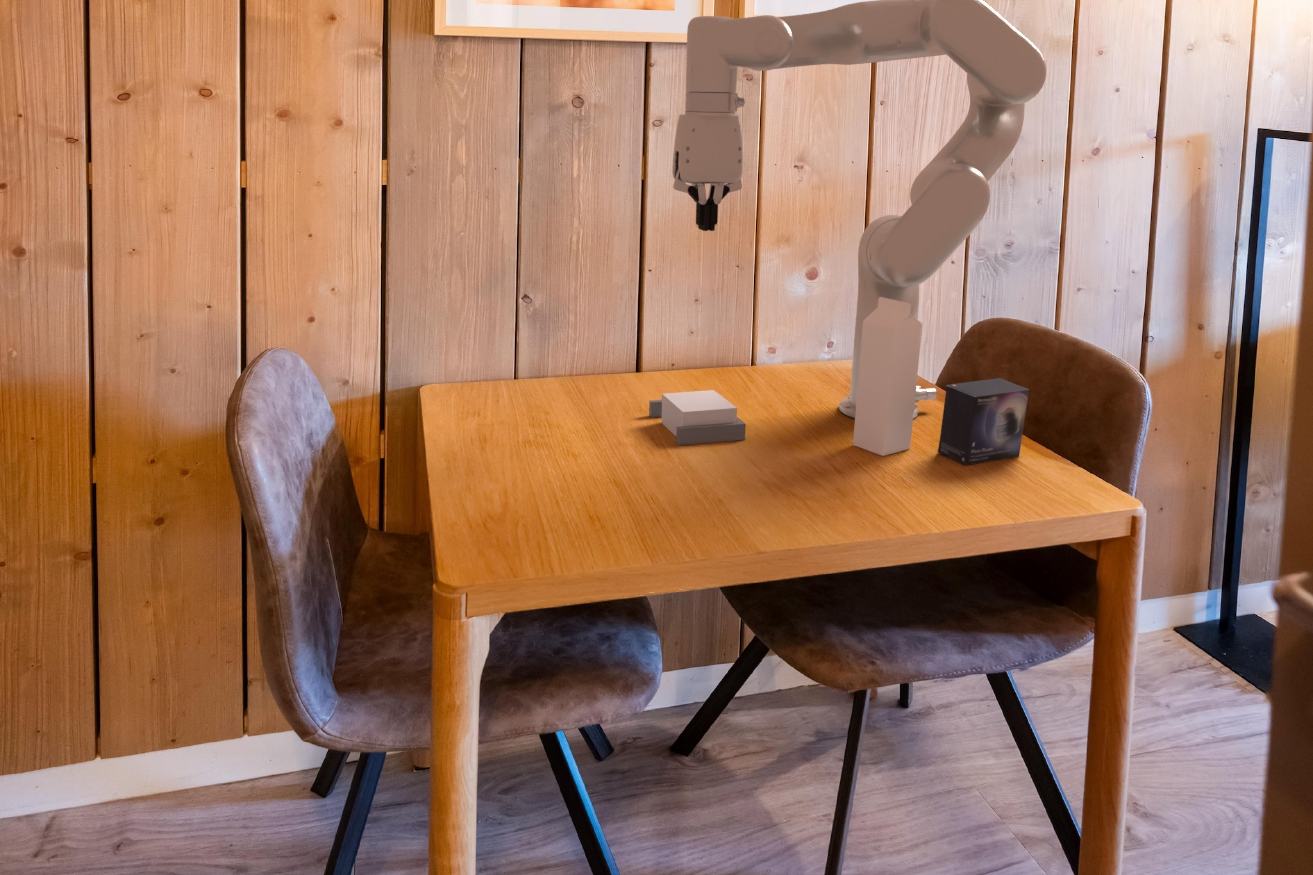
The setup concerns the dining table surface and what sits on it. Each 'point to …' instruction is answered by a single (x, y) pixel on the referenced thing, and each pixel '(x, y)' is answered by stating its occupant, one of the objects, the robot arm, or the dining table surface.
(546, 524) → the dining table surface
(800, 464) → the dining table surface
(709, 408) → the carton
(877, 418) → the milk
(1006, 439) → the small box
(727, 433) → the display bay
